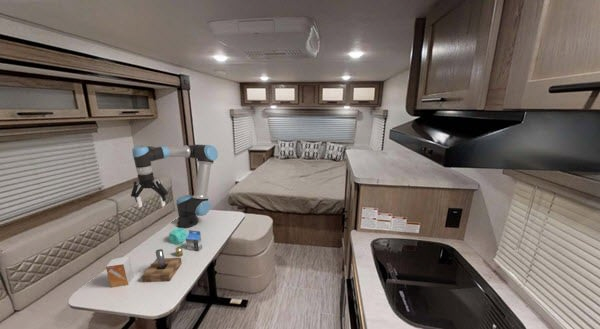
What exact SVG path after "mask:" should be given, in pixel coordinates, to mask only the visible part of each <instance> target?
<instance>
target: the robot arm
mask: <svg viewBox="0 0 600 329" xmlns="http://www.w3.org/2000/svg"><path fill="white" fill-rule="evenodd" d="M218 152H219V151H218V149H217V148H216V146H214V145H210V144H189V145H187V144H185V145H182V146H170V145H169V146H167V145H166V146H164V145H161V146H159V145H158V146H156V145H155V146H154V145H152V146H151V145H150V146H149V145H145V146H144V145H138V146H135V147H133V148H132V157H133V162H134V165H135V170H136V174H137V179H138V180H135V181H133V188H132V189H131V190H132V191H131V194H130V197H132V198H134V199H135V202H136V203H137V208H142V207H143V202H142V201H143V200H142V197H141V195H140V194H141V193H142V192H143V190H144V189H151V190H153V191H155V193H157V194H158V195H159V199H160V205H161V208H163V207H164V206H166V196H167V195H168V194H169V192H168V190H167V189H166V188H165V186H163V184H162V183H161V180H160V179H158V180H154V179H155V175H154V173H153V167H152V162H154V161H158V160H159V161H160V160H164V159H166V158H182V157H183V158H185V159H187V158H188V159H195V160H196V162H197V163H198V169H197V176H196V181H195V182H196V183H195V190H194V194H193V195H192V194H186V195H182V196H180V197H178V198H177V199H176V200H175V201H176V202H175V203H176V207H177V214H178V218H177V223H176V224H177V228H183V229H188V228H191V227H194V226H196V225H198V223H199V222H200V221H199V218H198V216H201V217H203V216H206V215H207V214H208V213H209V212H210V211H211V202H210V201H209V197H208V196H207V195H208V188H209V180H210V174H211V167H212V165H213V164H214V161H216V160H217V159H218V155H219V153H218ZM139 185H140V186H139ZM138 188H139V189H138Z"/></svg>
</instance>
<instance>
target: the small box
mask: <svg viewBox="0 0 600 329" xmlns="http://www.w3.org/2000/svg"><path fill="white" fill-rule="evenodd" d="M105 268H106V272H107V276H108V280H109V284H110V288H115V287H122V286H128V285H130V283H131V282H132V281H133V279H134V277H135V274H134V270H133V267H132V262H131V257H130V256H125V257H117V258H112V259H111V260H110V261H109V262H108V263H107V265H106V266H105Z"/></svg>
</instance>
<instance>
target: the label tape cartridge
mask: <svg viewBox="0 0 600 329" xmlns="http://www.w3.org/2000/svg"><path fill="white" fill-rule="evenodd" d="M185 242H186V248H187V251H188V250H189V251H196V252H200V251H201V250H202V249H203V244H202V236H201V231H199V230H198V231H197V230H193V229H192V230H190V229H189V230H188V233H187V237H186V239H185Z"/></svg>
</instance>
